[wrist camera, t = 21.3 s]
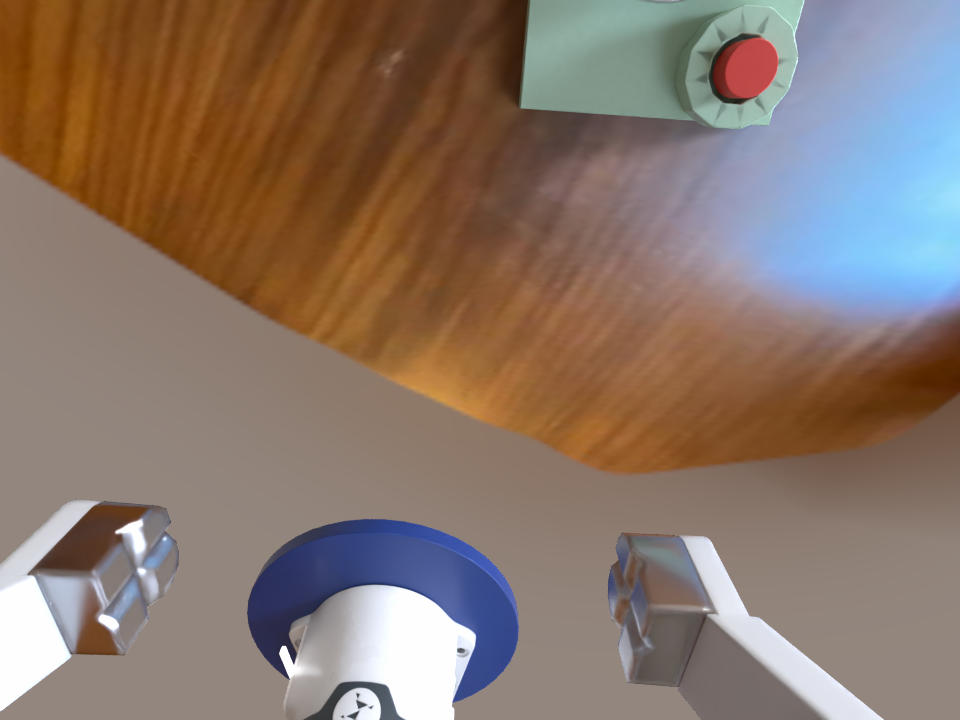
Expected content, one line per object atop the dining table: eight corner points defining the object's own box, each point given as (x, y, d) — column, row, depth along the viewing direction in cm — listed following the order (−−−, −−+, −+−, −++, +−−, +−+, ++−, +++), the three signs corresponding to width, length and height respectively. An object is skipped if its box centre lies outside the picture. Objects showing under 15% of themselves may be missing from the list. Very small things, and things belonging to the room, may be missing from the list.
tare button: (755, 100, 27) (769, 100, 26) (706, 96, 27) (718, 96, 26) (771, 42, 26) (786, 39, 25) (720, 39, 26) (732, 35, 25)
